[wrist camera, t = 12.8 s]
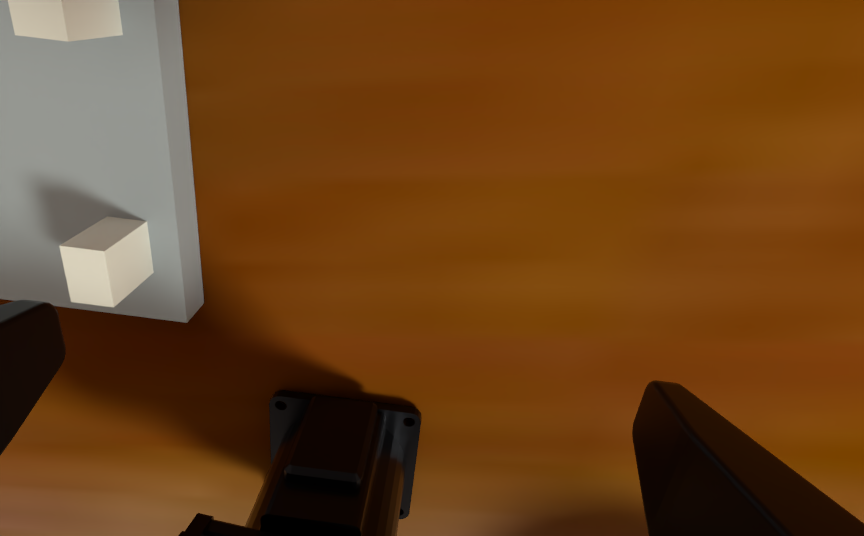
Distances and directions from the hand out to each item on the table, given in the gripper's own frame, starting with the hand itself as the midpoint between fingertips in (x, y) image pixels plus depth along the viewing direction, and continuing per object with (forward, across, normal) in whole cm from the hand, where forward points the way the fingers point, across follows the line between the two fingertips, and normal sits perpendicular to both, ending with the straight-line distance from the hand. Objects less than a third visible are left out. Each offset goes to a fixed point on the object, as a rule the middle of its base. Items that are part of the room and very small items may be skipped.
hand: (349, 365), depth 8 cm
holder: (+12, +13, 0) cm, 18 cm away
